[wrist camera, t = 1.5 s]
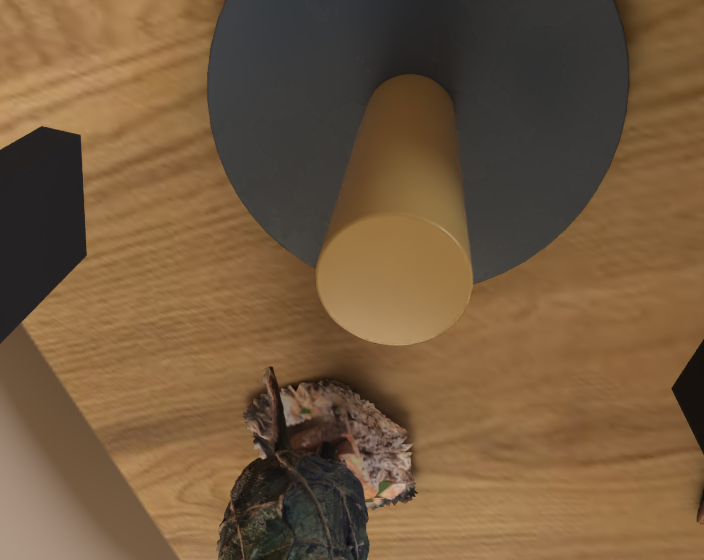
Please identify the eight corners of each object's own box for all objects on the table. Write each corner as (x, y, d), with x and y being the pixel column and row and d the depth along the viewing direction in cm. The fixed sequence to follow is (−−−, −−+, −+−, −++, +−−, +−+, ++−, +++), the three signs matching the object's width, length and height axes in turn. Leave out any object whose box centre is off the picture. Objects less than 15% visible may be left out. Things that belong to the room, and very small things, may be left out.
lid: (234, -179, 17) (-7, -270, 8) (701, -69, 17) (1024, -26, 8) (205, 235, 24) (64, 446, 15) (532, 309, 25) (593, 564, 15)
